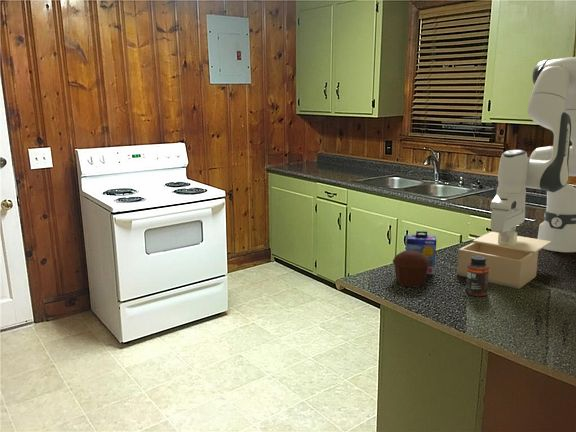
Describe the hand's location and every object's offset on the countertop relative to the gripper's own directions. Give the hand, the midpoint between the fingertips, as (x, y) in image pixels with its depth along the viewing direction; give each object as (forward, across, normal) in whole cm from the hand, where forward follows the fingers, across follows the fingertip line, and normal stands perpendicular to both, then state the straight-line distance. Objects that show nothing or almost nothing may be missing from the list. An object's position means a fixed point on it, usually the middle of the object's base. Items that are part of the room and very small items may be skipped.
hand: (507, 240), depth 172 cm
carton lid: (+2, -4, 0) cm, 4 cm away
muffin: (+10, +31, -18) cm, 37 cm away
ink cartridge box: (+11, +20, -21) cm, 31 cm away
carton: (+10, +7, 0) cm, 13 cm away
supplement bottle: (+10, +27, +2) cm, 29 cm away
